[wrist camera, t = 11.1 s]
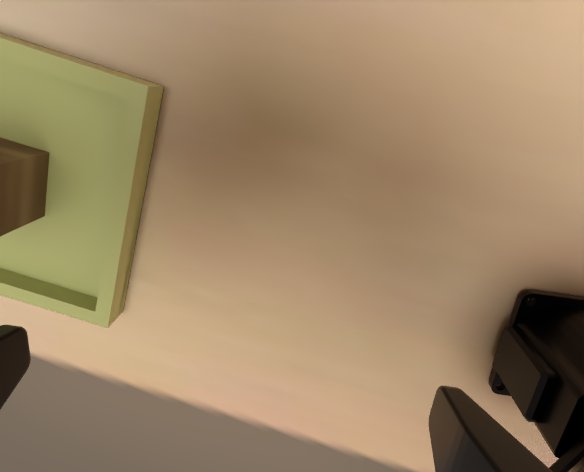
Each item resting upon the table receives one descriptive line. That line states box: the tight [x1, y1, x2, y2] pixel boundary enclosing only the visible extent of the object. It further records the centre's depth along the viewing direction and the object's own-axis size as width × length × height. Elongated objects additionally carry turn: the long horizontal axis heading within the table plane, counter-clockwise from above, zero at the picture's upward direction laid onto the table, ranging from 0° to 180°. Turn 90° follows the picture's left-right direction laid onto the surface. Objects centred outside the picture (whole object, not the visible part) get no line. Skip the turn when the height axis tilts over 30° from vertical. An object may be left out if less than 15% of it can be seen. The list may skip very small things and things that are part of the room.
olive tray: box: [0, 33, 164, 328], centre depth 21 cm, size 13×13×2 cm
